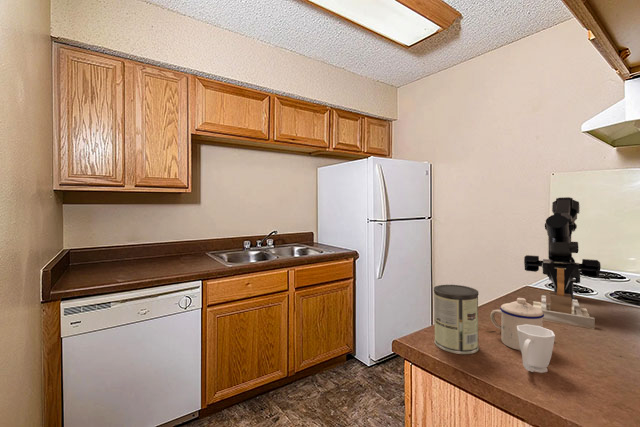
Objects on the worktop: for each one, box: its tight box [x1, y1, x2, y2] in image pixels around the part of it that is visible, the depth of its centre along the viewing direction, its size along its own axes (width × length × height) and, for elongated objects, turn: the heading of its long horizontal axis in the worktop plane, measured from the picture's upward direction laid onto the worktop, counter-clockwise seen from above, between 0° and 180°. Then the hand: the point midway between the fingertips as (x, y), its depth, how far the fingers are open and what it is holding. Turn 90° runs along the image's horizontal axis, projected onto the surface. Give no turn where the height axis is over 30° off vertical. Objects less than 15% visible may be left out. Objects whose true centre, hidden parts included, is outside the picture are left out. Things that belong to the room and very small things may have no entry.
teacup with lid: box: [489, 297, 544, 352], centre depth 77 cm, size 12×9×12 cm
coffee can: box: [433, 284, 480, 355], centre depth 76 cm, size 10×10×14 cm
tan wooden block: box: [549, 268, 572, 314], centre depth 93 cm, size 5×5×13 cm
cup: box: [517, 324, 556, 374], centre depth 64 cm, size 7×10×8 cm
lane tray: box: [532, 295, 596, 330], centre depth 94 cm, size 20×14×4 cm
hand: (560, 288), depth 92 cm, fingers closed on tan wooden block
